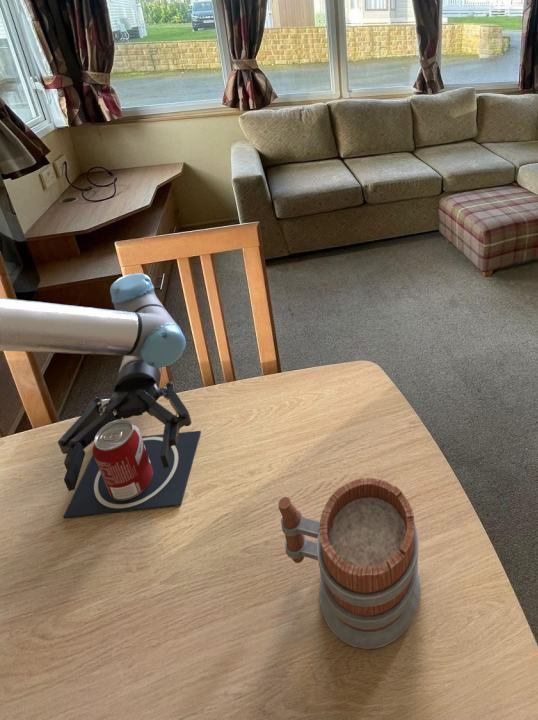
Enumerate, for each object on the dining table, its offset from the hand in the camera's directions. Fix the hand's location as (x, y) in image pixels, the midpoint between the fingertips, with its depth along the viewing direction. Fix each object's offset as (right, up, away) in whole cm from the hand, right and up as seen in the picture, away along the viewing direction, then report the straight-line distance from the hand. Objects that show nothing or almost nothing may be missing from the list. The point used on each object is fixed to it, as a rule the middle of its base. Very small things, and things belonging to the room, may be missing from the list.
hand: (117, 473), depth 75 cm
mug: (+37, -11, -7) cm, 39 cm away
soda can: (-1, -5, +6) cm, 8 cm away
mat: (-1, -4, +8) cm, 9 cm away
